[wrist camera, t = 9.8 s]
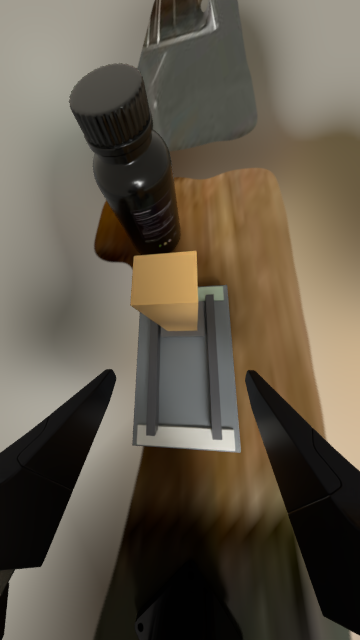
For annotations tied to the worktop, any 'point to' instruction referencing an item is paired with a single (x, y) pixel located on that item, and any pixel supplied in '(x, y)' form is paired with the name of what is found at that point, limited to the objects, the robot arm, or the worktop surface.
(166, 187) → the supplement bottle
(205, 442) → the grey rail base
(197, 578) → the robot arm
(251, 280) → the worktop surface
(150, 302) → the handle
